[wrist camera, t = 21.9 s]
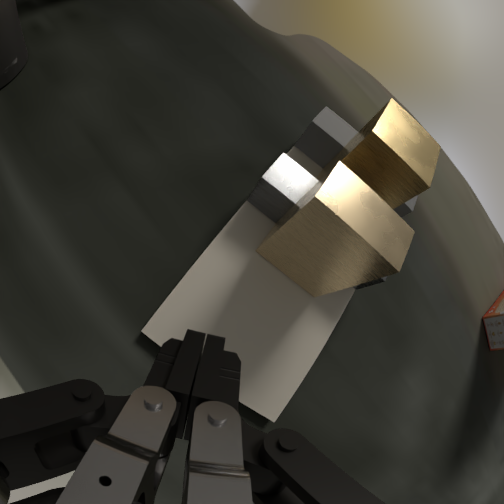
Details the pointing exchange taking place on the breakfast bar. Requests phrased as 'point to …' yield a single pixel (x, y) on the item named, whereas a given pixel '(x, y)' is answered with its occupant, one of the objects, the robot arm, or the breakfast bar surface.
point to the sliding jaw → (328, 228)
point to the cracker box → (495, 324)
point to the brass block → (391, 155)
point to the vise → (261, 293)
